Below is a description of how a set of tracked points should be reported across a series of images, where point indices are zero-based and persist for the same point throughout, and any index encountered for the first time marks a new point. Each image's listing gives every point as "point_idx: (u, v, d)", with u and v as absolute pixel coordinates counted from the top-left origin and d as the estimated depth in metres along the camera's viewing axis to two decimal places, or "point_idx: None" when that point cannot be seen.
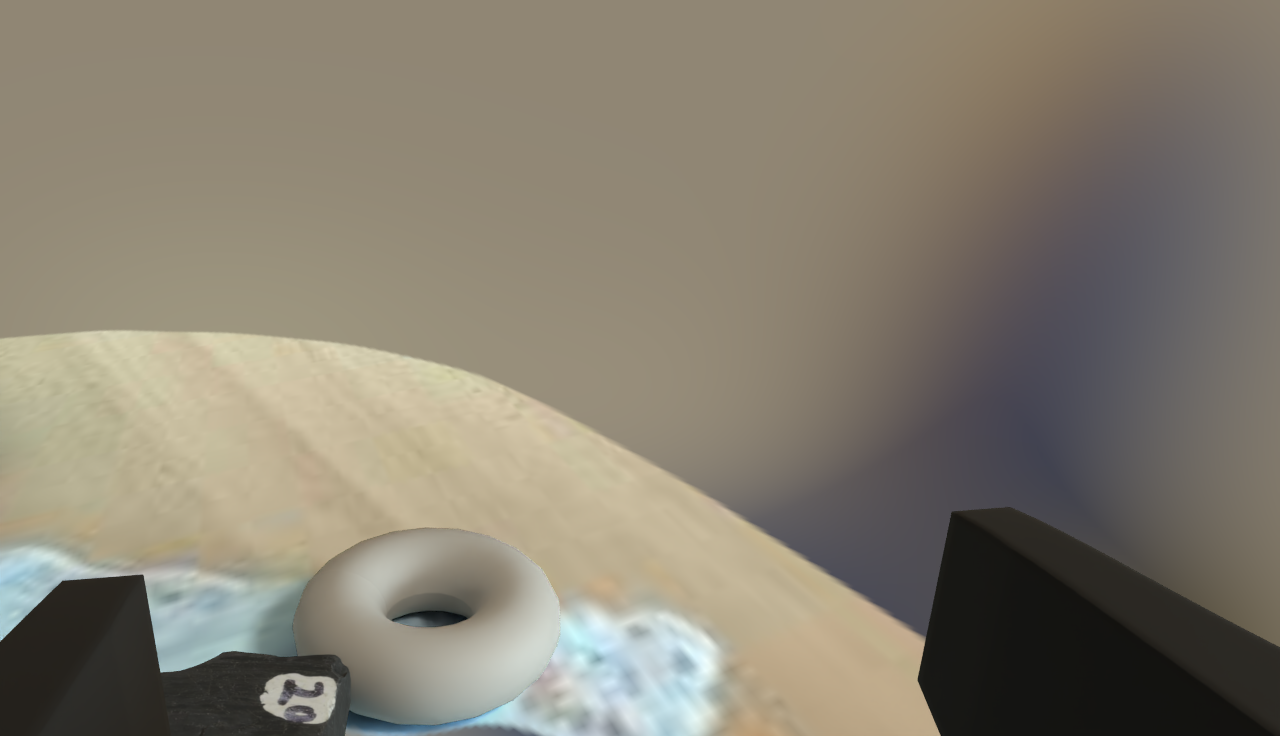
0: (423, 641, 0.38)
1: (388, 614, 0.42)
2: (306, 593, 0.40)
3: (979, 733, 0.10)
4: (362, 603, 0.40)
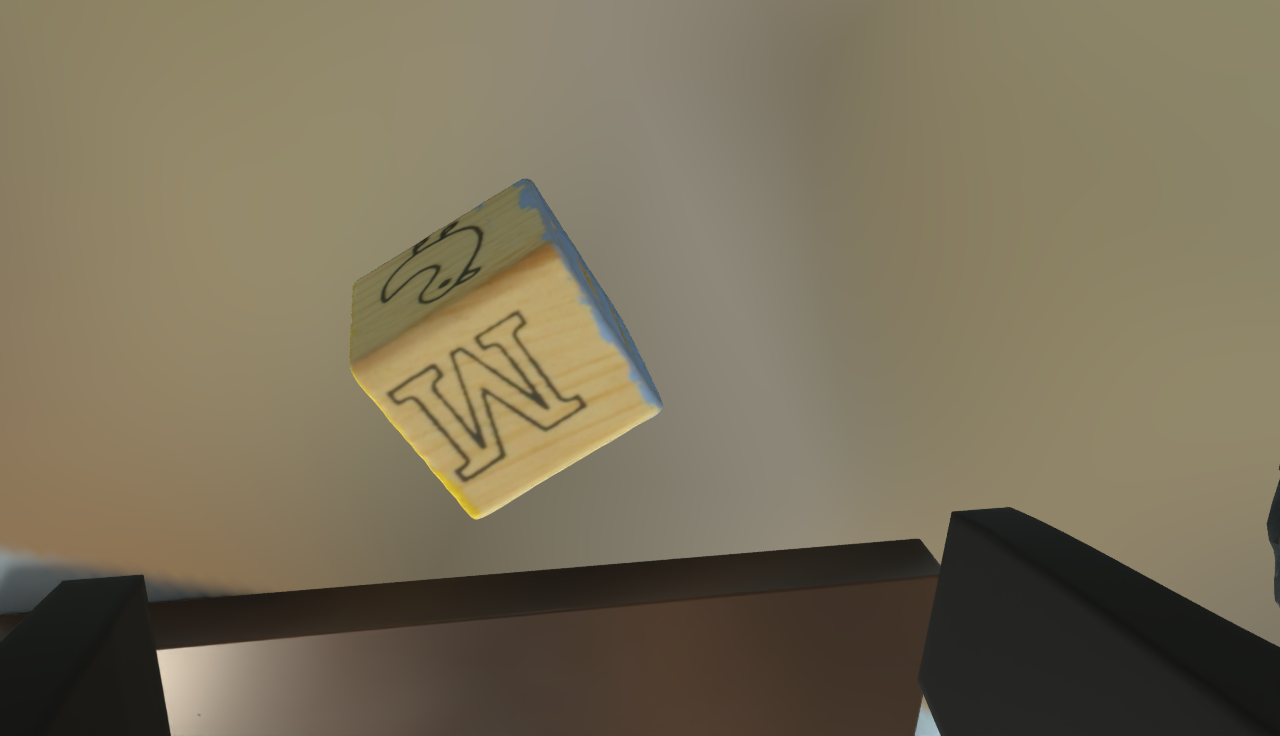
0: None
1: None
2: None
3: (979, 733, 0.10)
4: None
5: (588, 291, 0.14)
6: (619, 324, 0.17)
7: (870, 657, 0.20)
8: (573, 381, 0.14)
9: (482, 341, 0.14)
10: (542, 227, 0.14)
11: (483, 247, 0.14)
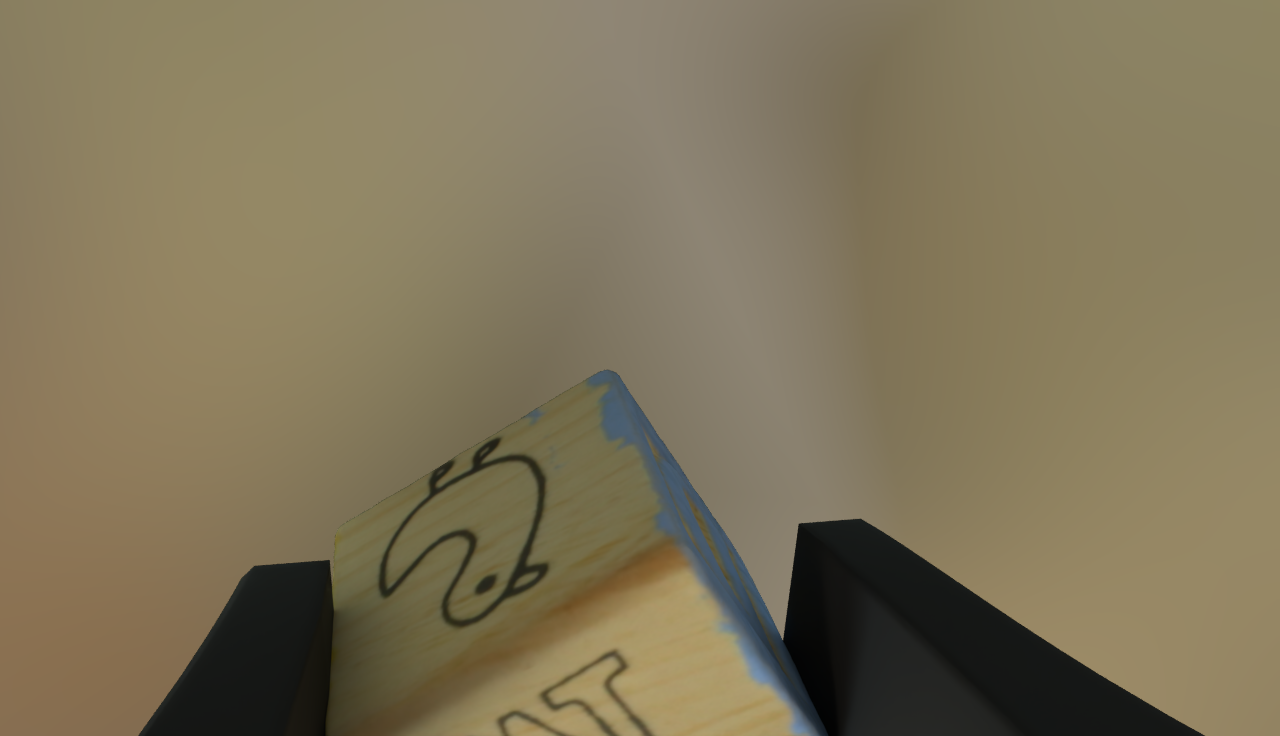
0: None
1: None
2: None
3: None
4: None
5: (733, 610, 0.08)
6: (744, 579, 0.11)
7: None
8: None
9: (554, 698, 0.08)
10: (653, 498, 0.08)
11: (548, 513, 0.09)
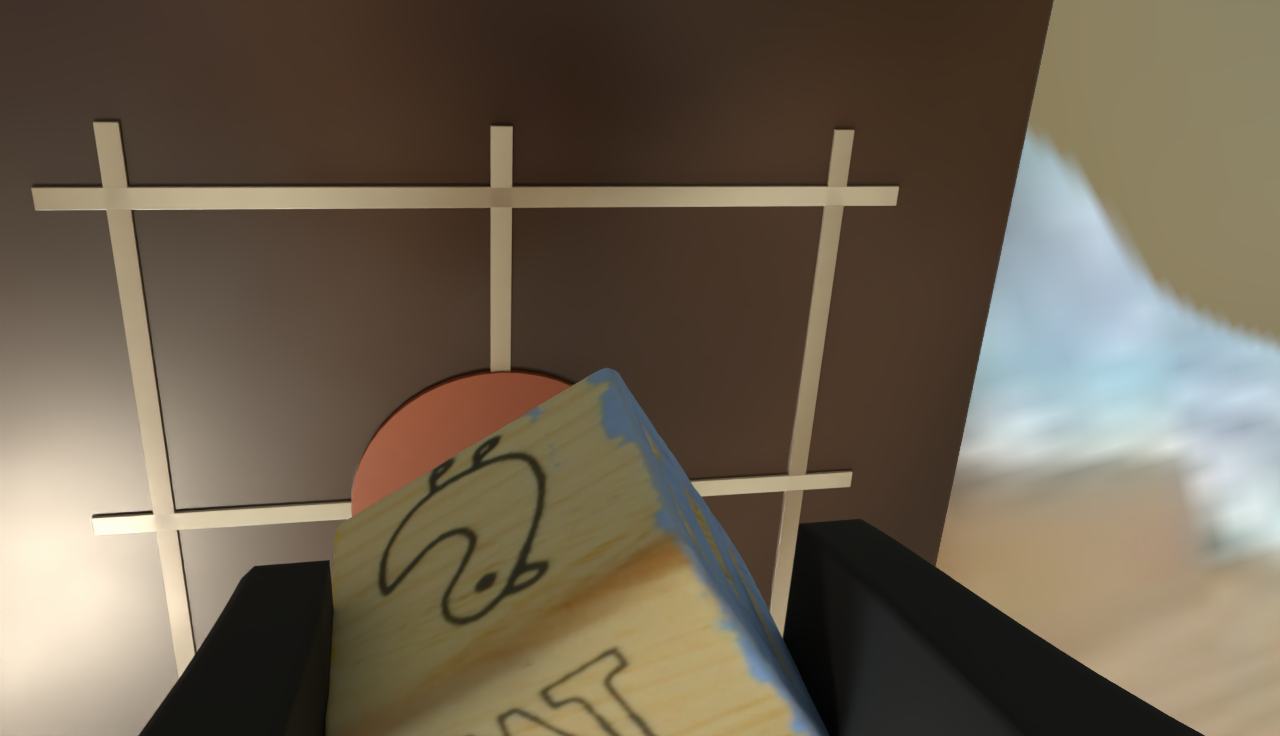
0: None
1: None
2: None
3: None
4: None
5: (733, 608, 0.08)
6: (744, 578, 0.11)
7: None
8: None
9: (552, 696, 0.08)
10: (653, 496, 0.08)
11: (548, 510, 0.09)
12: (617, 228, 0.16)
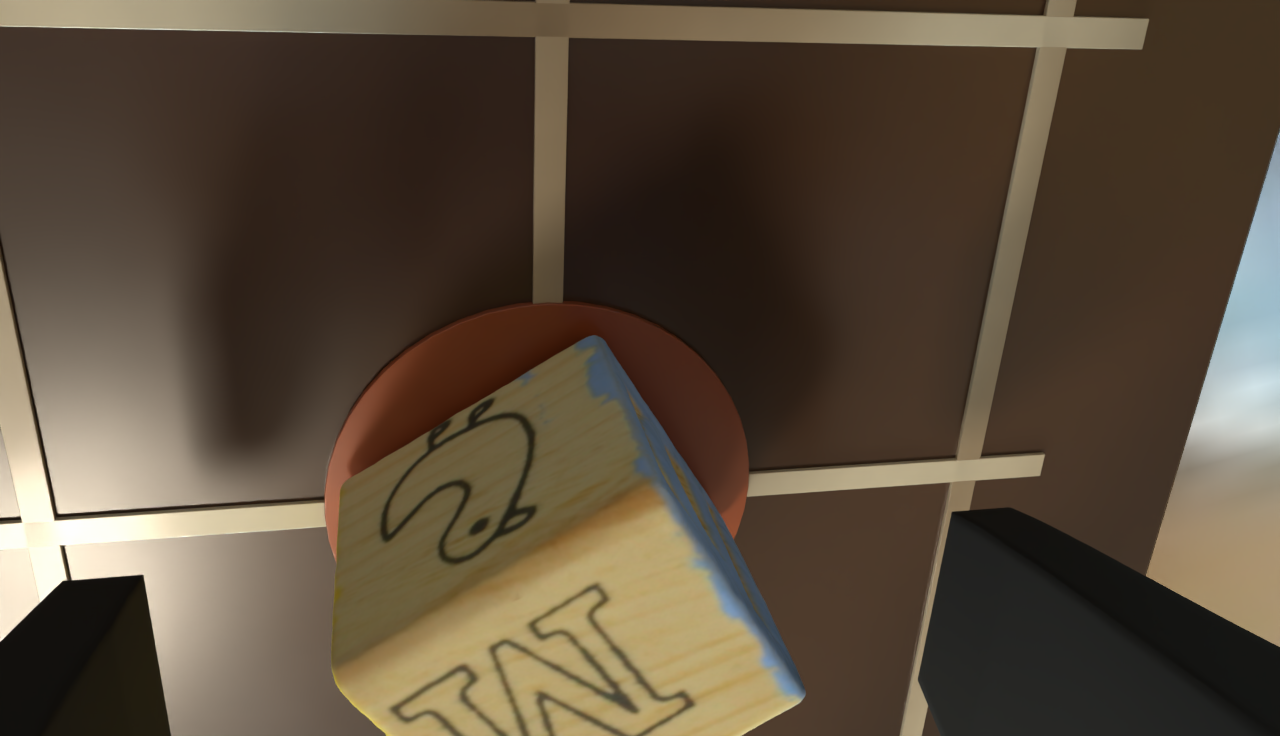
0: None
1: None
2: None
3: (979, 733, 0.10)
4: None
5: (706, 548, 0.09)
6: (723, 534, 0.12)
7: None
8: (677, 673, 0.09)
9: (541, 629, 0.09)
10: (632, 446, 0.09)
11: (537, 462, 0.09)
12: (728, 77, 0.10)
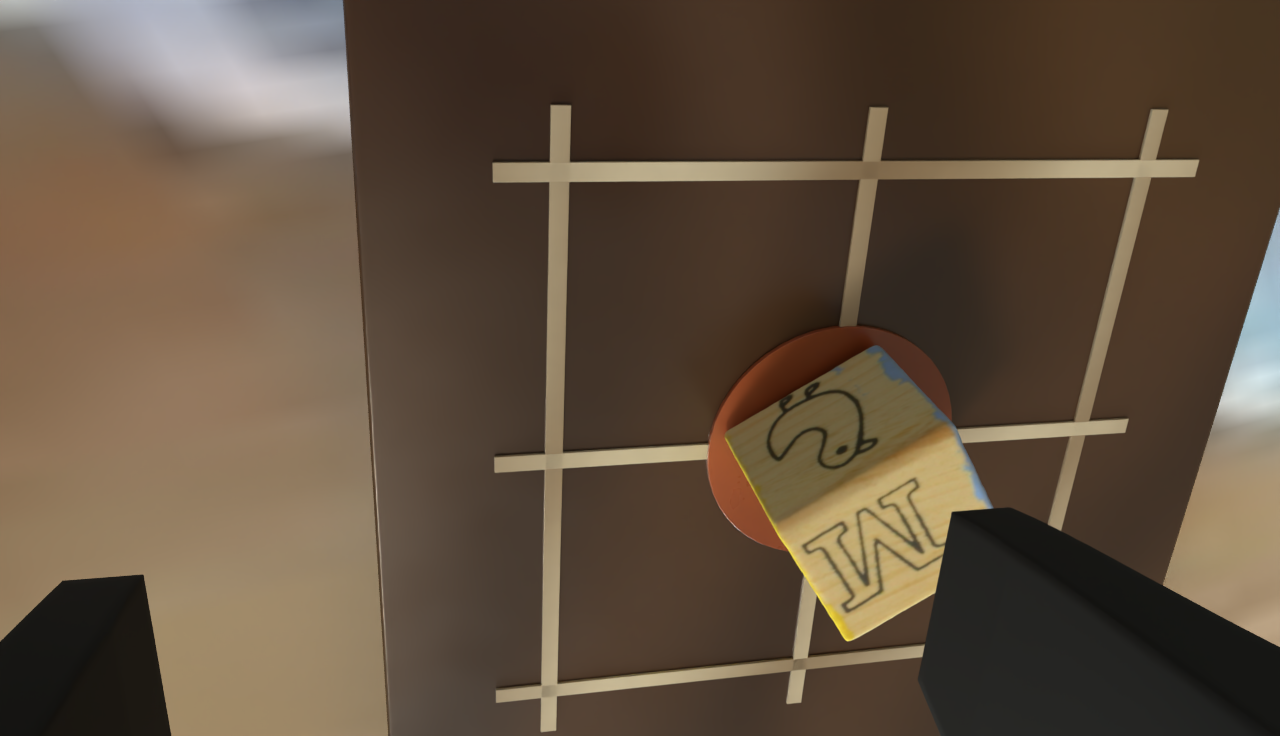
0: None
1: None
2: None
3: (980, 733, 0.10)
4: None
5: (970, 460, 0.17)
6: None
7: None
8: (946, 531, 0.17)
9: (883, 502, 0.16)
10: (929, 406, 0.17)
11: (867, 416, 0.17)
12: (960, 197, 0.18)
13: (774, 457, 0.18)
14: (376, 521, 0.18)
